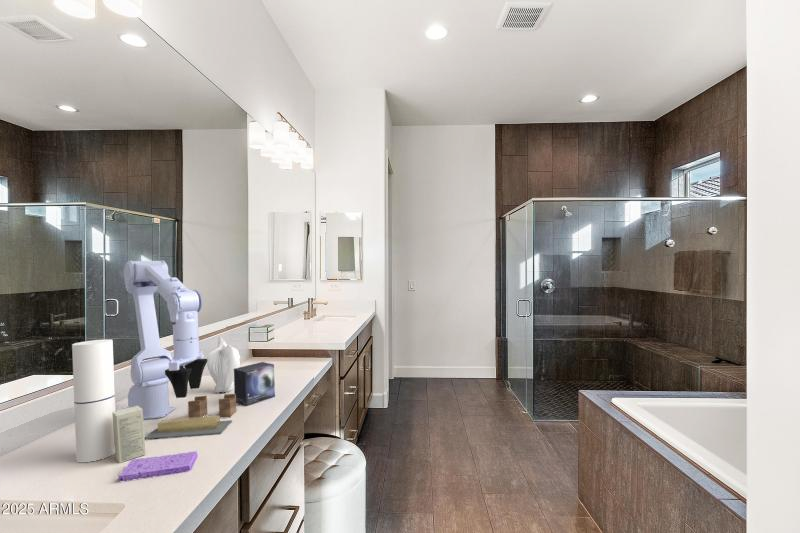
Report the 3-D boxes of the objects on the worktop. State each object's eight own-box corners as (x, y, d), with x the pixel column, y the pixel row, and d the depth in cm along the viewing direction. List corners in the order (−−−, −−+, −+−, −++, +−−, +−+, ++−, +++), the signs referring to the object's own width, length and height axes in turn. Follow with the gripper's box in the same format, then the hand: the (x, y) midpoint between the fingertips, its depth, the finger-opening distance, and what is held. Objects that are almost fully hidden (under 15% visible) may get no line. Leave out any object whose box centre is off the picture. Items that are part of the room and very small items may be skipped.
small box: (246, 406, 118) (244, 371, 118) (233, 403, 121) (232, 368, 122) (276, 396, 126) (274, 363, 126) (263, 393, 130) (262, 361, 130)
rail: (157, 433, 99) (157, 423, 99) (163, 429, 102) (162, 419, 102) (216, 428, 100) (215, 419, 100) (220, 424, 103) (219, 415, 103)
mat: (143, 439, 96) (143, 438, 96) (160, 427, 104) (160, 425, 104) (220, 433, 98) (220, 432, 98) (231, 421, 106) (231, 420, 106)
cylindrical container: (84, 465, 84) (80, 345, 84) (70, 458, 88) (66, 344, 88) (123, 451, 90) (118, 340, 90) (108, 445, 94) (104, 338, 94)
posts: (188, 420, 108) (188, 401, 108) (196, 414, 113) (195, 396, 113) (230, 417, 109) (230, 398, 109) (236, 411, 114) (235, 393, 114)
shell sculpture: (232, 394, 130) (230, 339, 131) (207, 396, 131) (204, 340, 131) (242, 387, 139) (240, 335, 139) (219, 388, 139) (216, 336, 139)
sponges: (132, 468, 83) (131, 459, 83) (198, 458, 86) (198, 449, 86) (117, 485, 76) (117, 475, 76) (190, 473, 79) (190, 464, 79)
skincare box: (141, 449, 91) (139, 404, 91) (146, 455, 88) (144, 408, 88) (113, 457, 87) (111, 411, 87) (117, 463, 84) (115, 415, 84)
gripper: (189, 342, 95) (192, 400, 95) (213, 333, 109) (215, 383, 109) (158, 344, 94) (160, 402, 94) (186, 334, 109) (188, 385, 108)
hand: (188, 392), depth 101 cm, fingers open, 7 cm apart
